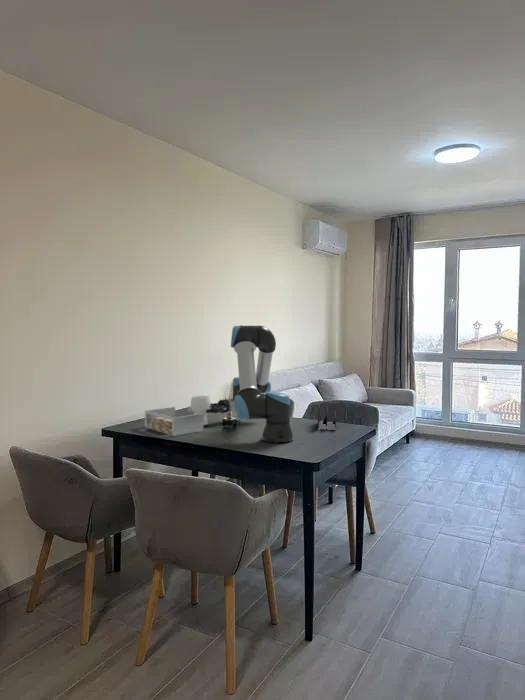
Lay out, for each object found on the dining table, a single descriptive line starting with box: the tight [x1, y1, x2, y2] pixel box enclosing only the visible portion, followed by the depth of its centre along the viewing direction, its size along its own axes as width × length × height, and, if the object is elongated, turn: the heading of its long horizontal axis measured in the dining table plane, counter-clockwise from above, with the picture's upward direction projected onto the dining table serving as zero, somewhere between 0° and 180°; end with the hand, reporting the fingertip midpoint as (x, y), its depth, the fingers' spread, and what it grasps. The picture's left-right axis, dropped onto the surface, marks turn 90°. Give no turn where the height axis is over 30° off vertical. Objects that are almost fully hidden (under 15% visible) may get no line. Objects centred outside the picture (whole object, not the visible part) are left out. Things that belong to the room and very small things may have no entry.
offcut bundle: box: [152, 417, 172, 434], centre depth 259 cm, size 18×4×6 cm, turn 43°
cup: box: [190, 395, 211, 426], centre depth 275 cm, size 11×11×15 cm
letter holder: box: [317, 400, 337, 428], centre depth 278 cm, size 10×20×14 cm, turn 172°
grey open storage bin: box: [144, 406, 204, 437], centre depth 263 cm, size 28×18×10 cm, turn 43°
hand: (194, 410), depth 272 cm, fingers closed on cup, 10 cm apart
